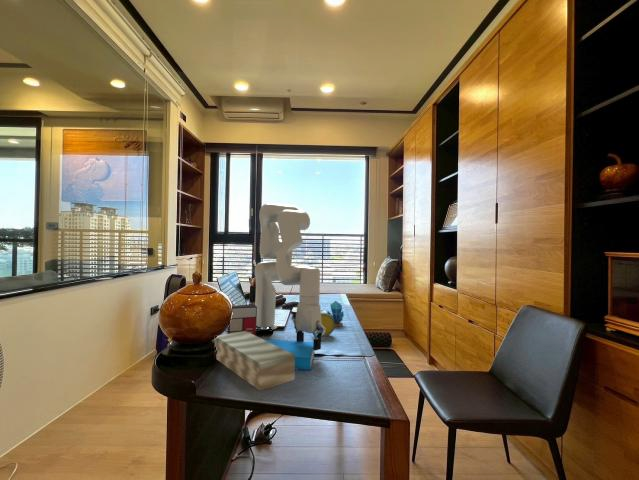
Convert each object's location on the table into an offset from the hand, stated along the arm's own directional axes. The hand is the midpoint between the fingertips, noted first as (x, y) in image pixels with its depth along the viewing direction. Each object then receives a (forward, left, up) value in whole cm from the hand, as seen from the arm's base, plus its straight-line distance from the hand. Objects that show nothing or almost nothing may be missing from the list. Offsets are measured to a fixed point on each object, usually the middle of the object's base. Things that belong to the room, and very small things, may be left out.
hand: (308, 346), depth 119 cm
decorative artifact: (-16, +22, -3) cm, 28 cm away
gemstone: (-24, +38, -3) cm, 45 cm away
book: (-3, -12, -3) cm, 12 cm away
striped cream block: (-1, -23, -3) cm, 23 cm away
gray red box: (-25, -14, -3) cm, 29 cm away
